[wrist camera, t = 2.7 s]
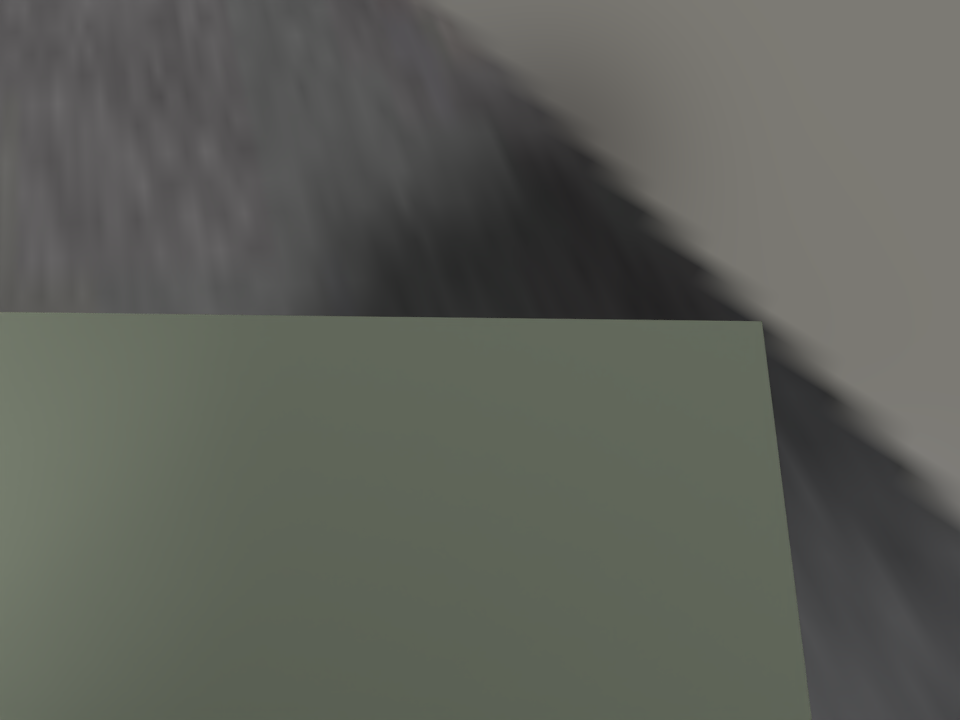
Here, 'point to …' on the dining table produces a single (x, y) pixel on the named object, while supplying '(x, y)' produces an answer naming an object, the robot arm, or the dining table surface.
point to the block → (392, 520)
